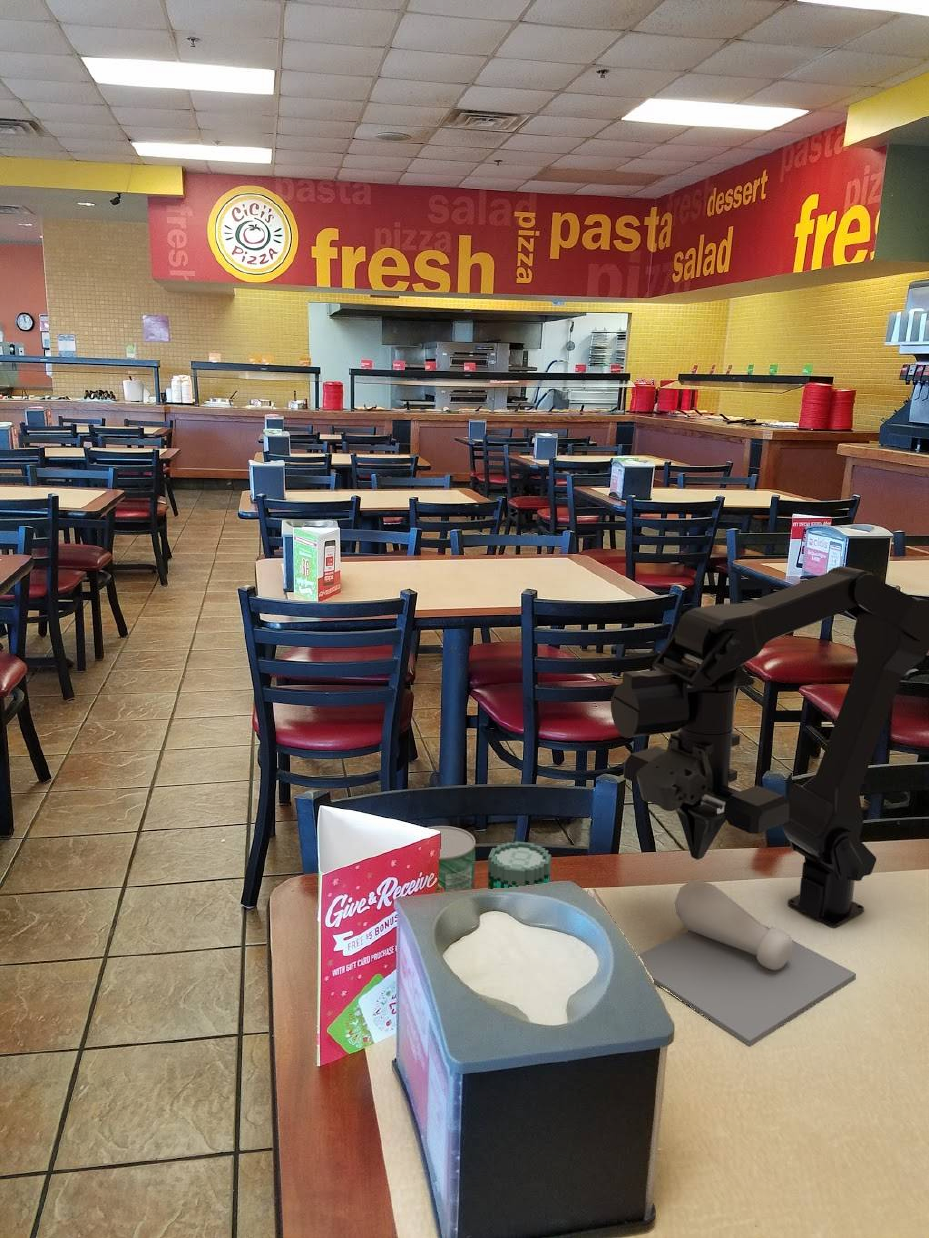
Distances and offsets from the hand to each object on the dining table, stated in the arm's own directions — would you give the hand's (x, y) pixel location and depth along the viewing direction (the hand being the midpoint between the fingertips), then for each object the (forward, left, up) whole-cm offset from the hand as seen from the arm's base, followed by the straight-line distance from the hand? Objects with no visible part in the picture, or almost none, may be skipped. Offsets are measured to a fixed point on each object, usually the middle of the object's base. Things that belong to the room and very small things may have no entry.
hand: (697, 857), depth 102 cm
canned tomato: (+22, -19, -10) cm, 31 cm away
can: (+22, -5, -10) cm, 25 cm away
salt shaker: (-1, -2, -6) cm, 7 cm away
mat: (+1, +7, -10) cm, 12 cm away
